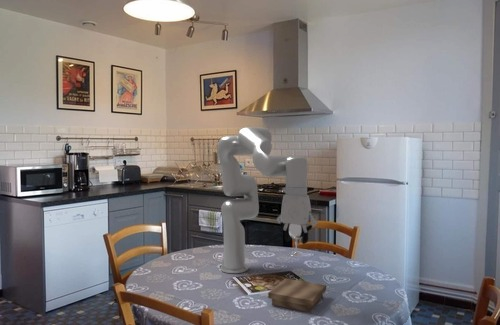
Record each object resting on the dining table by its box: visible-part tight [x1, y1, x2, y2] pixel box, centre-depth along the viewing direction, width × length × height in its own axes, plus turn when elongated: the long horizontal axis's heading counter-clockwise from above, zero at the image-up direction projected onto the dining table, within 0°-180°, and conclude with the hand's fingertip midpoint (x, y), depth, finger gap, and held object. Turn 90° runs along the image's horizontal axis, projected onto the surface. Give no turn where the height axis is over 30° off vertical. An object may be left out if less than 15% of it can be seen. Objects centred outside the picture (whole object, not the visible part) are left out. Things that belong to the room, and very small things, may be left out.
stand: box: [267, 278, 327, 313], centre depth 140 cm, size 16×16×4 cm
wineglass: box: [288, 224, 304, 258], centre depth 139 cm, size 6×6×12 cm
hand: (296, 241), depth 139 cm, fingers closed on wineglass, 5 cm apart
